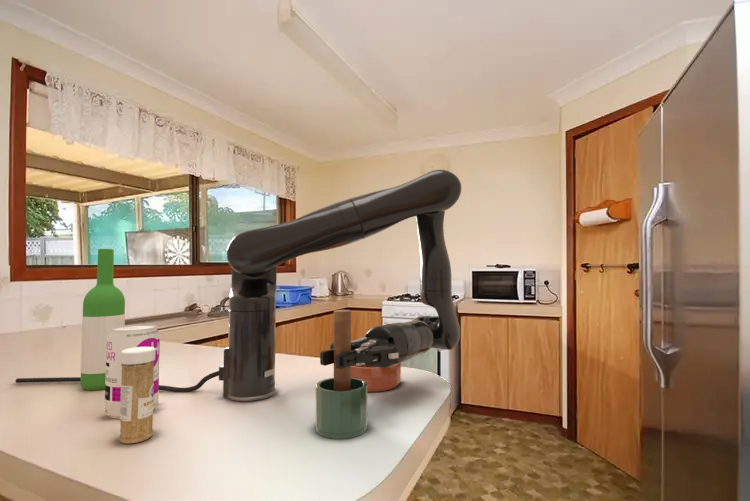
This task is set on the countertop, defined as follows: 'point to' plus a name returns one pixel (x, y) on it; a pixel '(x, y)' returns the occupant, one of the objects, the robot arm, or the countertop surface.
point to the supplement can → (115, 345)
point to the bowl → (378, 376)
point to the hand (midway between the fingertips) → (329, 360)
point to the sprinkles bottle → (137, 394)
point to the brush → (342, 348)
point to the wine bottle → (100, 322)
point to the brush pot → (341, 409)
